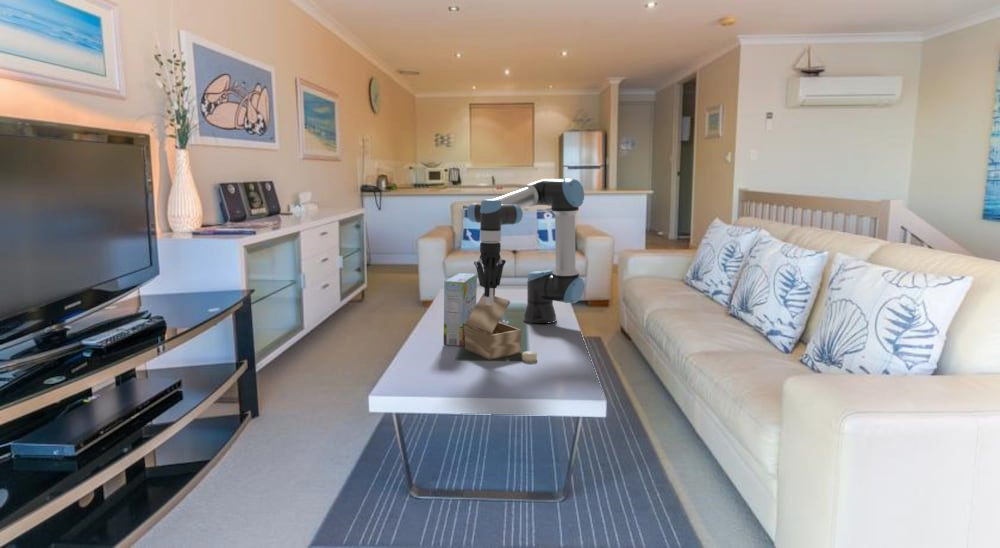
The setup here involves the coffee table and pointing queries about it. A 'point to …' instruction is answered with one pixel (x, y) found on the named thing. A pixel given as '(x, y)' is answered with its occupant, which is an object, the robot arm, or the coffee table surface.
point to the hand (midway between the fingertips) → (489, 304)
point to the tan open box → (494, 341)
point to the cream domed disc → (529, 356)
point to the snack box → (458, 306)
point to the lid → (487, 314)
